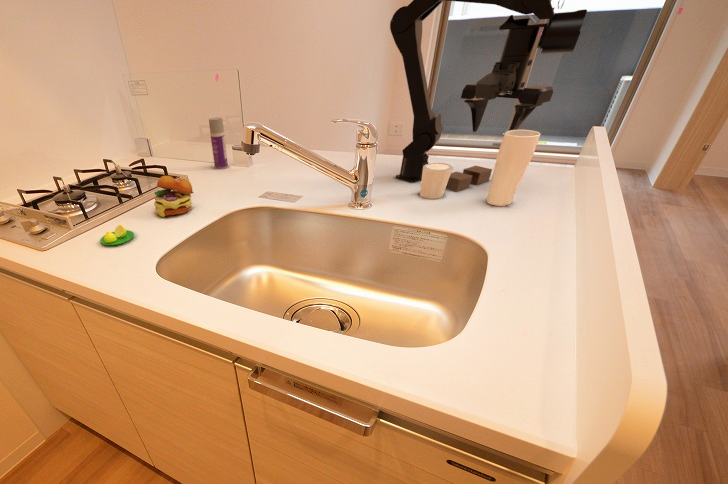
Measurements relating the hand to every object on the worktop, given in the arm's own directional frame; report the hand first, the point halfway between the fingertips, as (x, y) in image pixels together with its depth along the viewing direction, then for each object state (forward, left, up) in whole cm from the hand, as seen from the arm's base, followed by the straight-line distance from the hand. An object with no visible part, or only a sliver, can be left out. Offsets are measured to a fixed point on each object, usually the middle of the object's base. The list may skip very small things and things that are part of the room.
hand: (491, 134), depth 91 cm
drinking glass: (+12, -8, -12) cm, 19 cm away
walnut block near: (-2, -6, -12) cm, 14 cm away
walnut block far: (-2, +2, -12) cm, 12 cm away
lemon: (-29, -91, -12) cm, 96 cm away
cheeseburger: (-38, -73, -12) cm, 83 cm away
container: (-67, -45, -12) cm, 82 cm away
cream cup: (-2, -15, -12) cm, 19 cm away
